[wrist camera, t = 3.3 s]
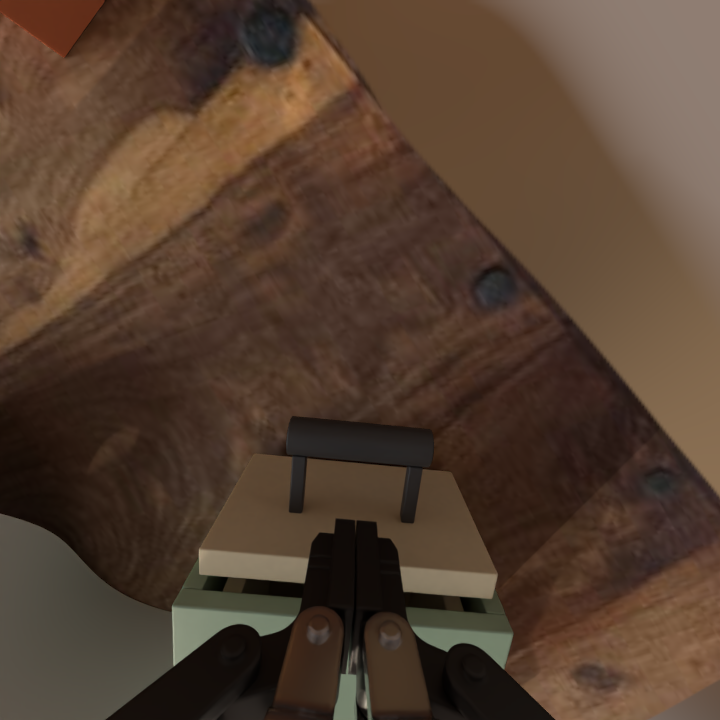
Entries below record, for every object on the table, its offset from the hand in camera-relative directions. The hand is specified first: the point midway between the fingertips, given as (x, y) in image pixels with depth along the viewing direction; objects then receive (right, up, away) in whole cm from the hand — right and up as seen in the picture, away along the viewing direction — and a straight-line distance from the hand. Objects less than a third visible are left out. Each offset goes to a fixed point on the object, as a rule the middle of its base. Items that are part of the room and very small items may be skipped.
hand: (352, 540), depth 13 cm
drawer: (-1, -4, +9) cm, 10 cm away
